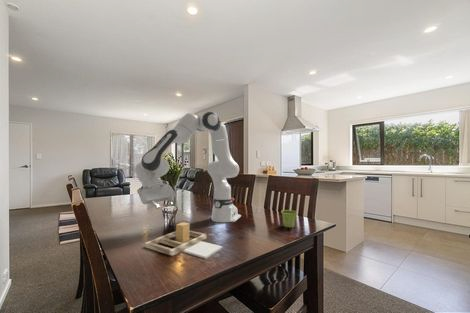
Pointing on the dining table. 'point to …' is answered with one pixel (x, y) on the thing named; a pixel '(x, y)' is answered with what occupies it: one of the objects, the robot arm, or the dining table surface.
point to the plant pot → (289, 218)
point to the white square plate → (203, 249)
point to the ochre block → (182, 232)
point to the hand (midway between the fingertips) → (165, 206)
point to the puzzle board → (174, 243)
